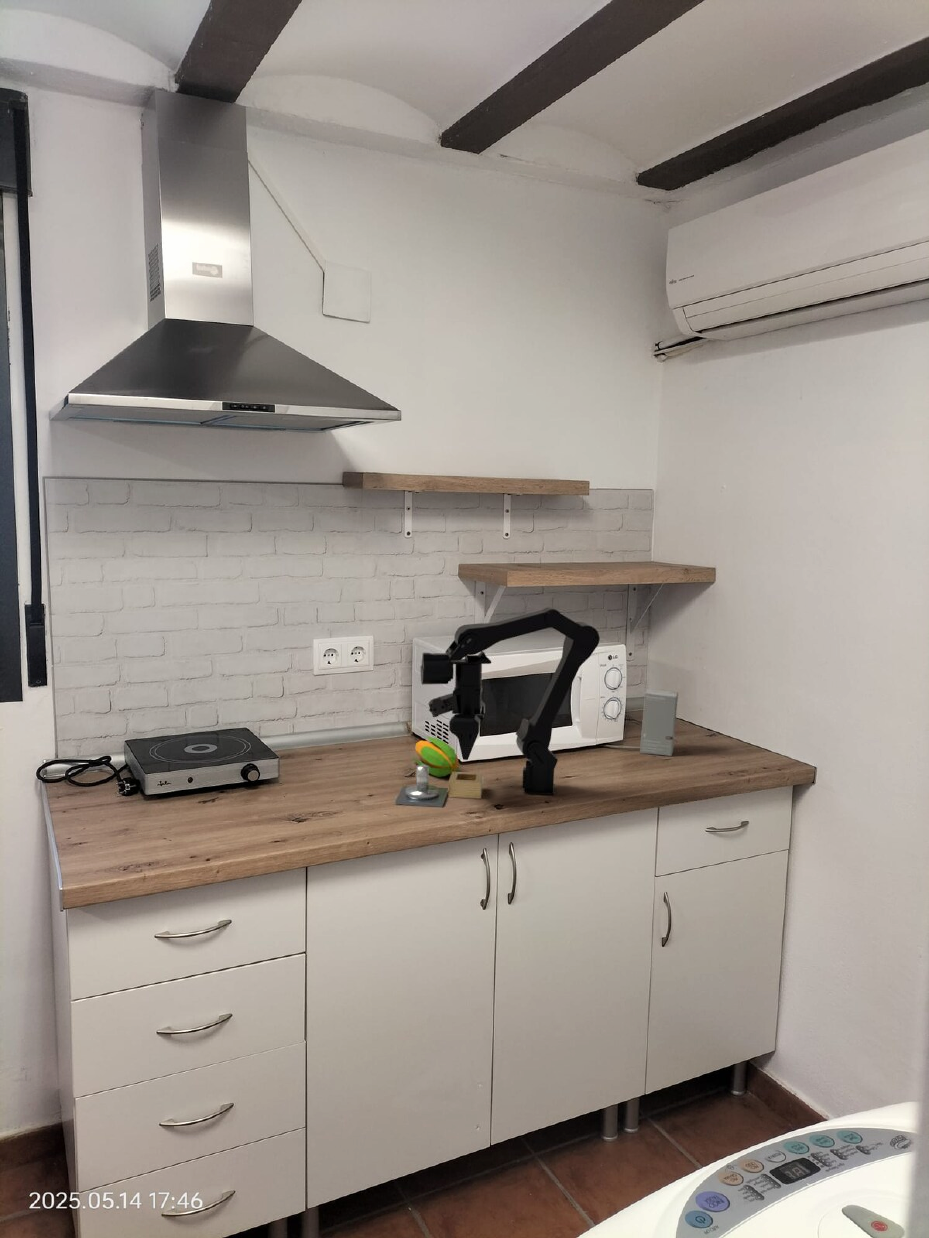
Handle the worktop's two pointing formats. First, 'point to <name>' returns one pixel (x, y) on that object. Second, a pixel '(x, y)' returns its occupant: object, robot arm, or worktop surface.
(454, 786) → the collar
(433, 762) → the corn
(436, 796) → the post
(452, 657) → the robot arm
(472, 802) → the worktop surface
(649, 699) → the skincare box
